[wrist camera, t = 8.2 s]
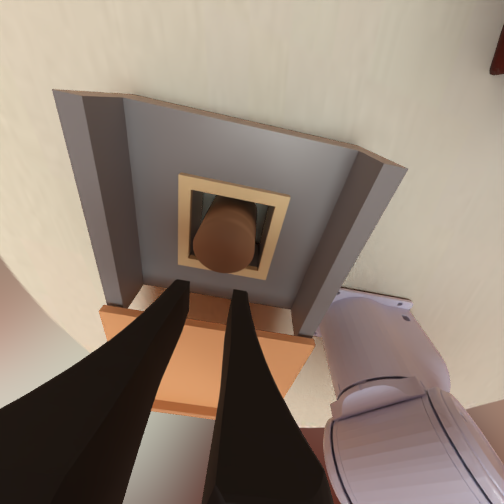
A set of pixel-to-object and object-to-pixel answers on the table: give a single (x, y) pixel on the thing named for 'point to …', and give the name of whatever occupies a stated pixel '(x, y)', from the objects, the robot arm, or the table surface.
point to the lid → (209, 362)
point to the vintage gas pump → (498, 57)
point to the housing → (225, 184)
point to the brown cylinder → (227, 235)
